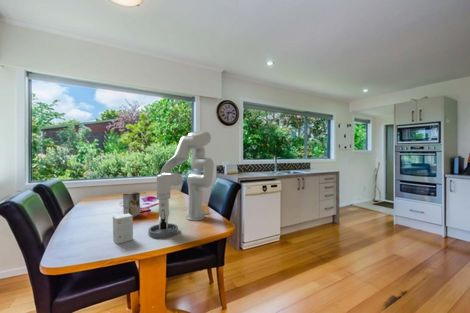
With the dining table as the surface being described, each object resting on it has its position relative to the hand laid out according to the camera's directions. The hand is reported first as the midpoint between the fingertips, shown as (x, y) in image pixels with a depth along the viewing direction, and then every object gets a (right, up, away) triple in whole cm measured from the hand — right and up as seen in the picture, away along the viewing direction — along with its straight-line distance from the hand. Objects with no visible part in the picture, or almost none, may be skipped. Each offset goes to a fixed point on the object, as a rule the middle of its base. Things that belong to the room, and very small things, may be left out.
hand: (163, 227), depth 130 cm
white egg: (0, -1, 0) cm, 1 cm away
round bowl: (0, -3, 0) cm, 3 cm away
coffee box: (-33, -2, +33) cm, 47 cm away
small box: (-18, -4, -11) cm, 21 cm away
